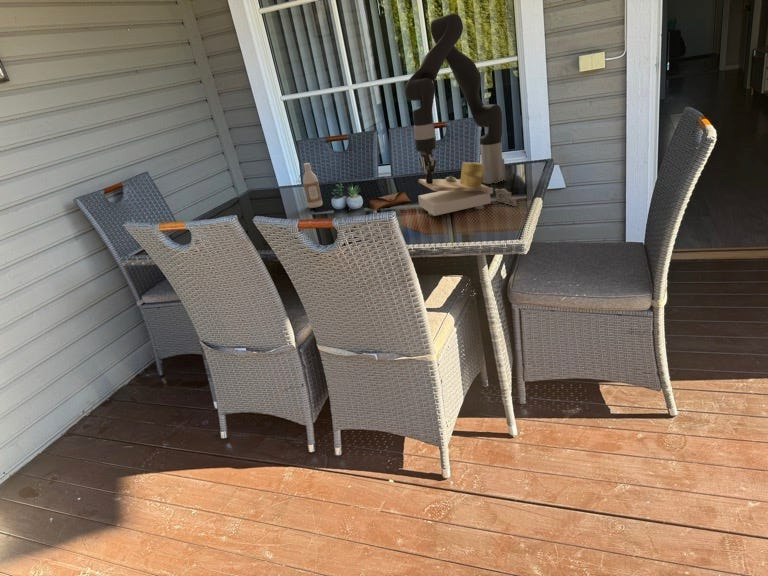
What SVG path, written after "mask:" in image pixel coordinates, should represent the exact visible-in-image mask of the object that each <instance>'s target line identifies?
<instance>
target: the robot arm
mask: <svg viewBox="0 0 768 576" xmlns="http://www.w3.org/2000/svg"><path fill="white" fill-rule="evenodd" d="M429 27H430V28H429V29H430V33H431V37H432V39H433V41H434V43H435V44H434V45H433V46H432V47H431V49H429V51H428V52H427V53H426V54H425V56H424V57H423V59H422V61H421V63H420V66H419V68H418V69H417V70H416V71H415V72H414V73H413V74H412V76H411V77H410V78H409V79H408V80H407V82H406V84H405V87H404V89H405V90H404V93H405V96H406V98H407V99H408V100H409V101H411V102H412V101H413V102H416V101H422V102H421V105H420V106H418V107H416V108H414V109H413V110H412V121H413V134H414V135H413V136H414V142H415V143H414V145H415V151H416V152H417V153H419V152H420V156H419V157H418V159H419V163H420V166H421V171H423V172H424V174H425V176H424V177H425V179H426V183H427V184H431V183H433V179H434V178H433V173H435V169H436V164H437V161H436V159H434V155H433V151H434V150H435V149H436V148H437V143H436V142H437V141H436V133H435V127H434V119H433V118H434V117H433V107H434V100H435V99H434V98H435V92H436V89H435V88H436V87H435V83H434V81H435V80H436V79H437V77H438V74H439V72H440V70H441V67H442V66H443V63H444V62H445V61H446V62H447V64H448V66H449V68H450V70H451V72H452V74H453V76H454V79H455V80H456V83H457V85H458V86H459V88H460V90H461V92H462V94H463V96H464V99H465V100H466V102H467V105H468V108H469V110H470V113H471V116H472V119H473V121H474V123H475V124H476V125H477V126H478V127H480V128H487V130H488V131H487V133H486V134H485V135H484V134H483V135H482V136H480V138H479V146H480V147H479V148H480V164H483V172H482V183H483V184H484V185H489V184H490V185H491V184H492V183H494V184H499V183H501V182H500V181H502V182H504V181H506V167H505V165H506V164H505V159H504V158H503V149H502V136H503V113H502V109H501V106H500V105H499V104H497V103H493V104H484V103H483V101H482V100H481V97H480V90H481V82H482V77H481V74H480V72H479V70H478V67H477V65H476V63H475V62H474V61H473V60H472V59H471V58H470V57H469V56H468V55H465V53H463V52H462V51H460V50H459V49H458V48H457V47H456V46H455V45H456V44H457V43H458V41H459V40H460V39H461V36H462V34H463V31H464V24H463V20H462V17H460V15H459V14H458V13H455V12H454V13H449V14H446V15H445V14H444V15H443V16H440V17H437V18H434V19H433V20H432V21H431V22H430V26H429ZM503 180H504V181H503ZM498 182H499V183H498ZM492 185H493V184H492Z"/></svg>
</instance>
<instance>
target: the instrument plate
mask: <svg viewBox="0 0 768 576" xmlns="http://www.w3.org/2000/svg"><path fill="white" fill-rule="evenodd" d="M482 172H483V164H482V163H481V162H477V161H474V162H473V161H469V162H468V161H462V162H461V172H460V178H459V179H458V178H456V177H454V176H453V175H450V176H446V177H445V178H443V179H442V178H435V179H434V178H432V179H433V183H431V184H427V183H426V178H419V179H418V183H419V184H421V185H423V186H424V187H426V188H428V189H430V190H431V191H433V192H438V191H487V189H488V188H490V187H489V186H488V185H487V186H486V184H484V183H483V184H482V182H483V179H482Z"/></svg>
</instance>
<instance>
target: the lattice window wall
mask: <svg viewBox="0 0 768 576" xmlns="http://www.w3.org/2000/svg"><path fill="white" fill-rule="evenodd" d="M494 191H495V200H496V201H498V202H497V203H499V202H504V203H506V204H509V205H512V206H514V205H516V206H517V198H513V197H512V192H511V191H508V190H507V189H506V188H500V189H499V188H495V189H494ZM496 201H495V202H496ZM506 204H505V205H506ZM509 205H508V206H509ZM512 206H511V207H512Z"/></svg>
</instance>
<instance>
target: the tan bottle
mask: <svg viewBox="0 0 768 576" xmlns="http://www.w3.org/2000/svg"><path fill="white" fill-rule="evenodd" d="M311 166H312V165H311V163H310V162H305V163H303V169H304V174H303V176H302V184H303V189H304V194H305V198H306V202H307V206H308V208H310V209H313V208H318V207H319V208H320V207H322V206H323V199H322V193H321V189H320V185H319V180H318V177H317V175H316V174H315V173H314V172H313V171H312V168H311Z"/></svg>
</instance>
